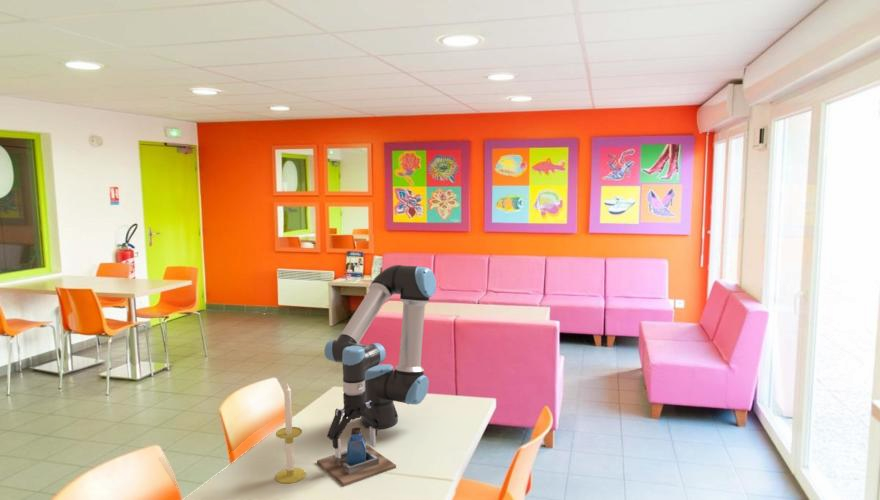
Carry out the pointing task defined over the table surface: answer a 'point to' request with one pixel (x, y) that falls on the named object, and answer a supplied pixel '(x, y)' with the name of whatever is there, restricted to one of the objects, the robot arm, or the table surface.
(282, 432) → the candle
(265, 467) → the table surface
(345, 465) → the pocket board
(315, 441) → the table surface
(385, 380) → the robot arm
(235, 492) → the table surface
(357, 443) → the perfume bottle
